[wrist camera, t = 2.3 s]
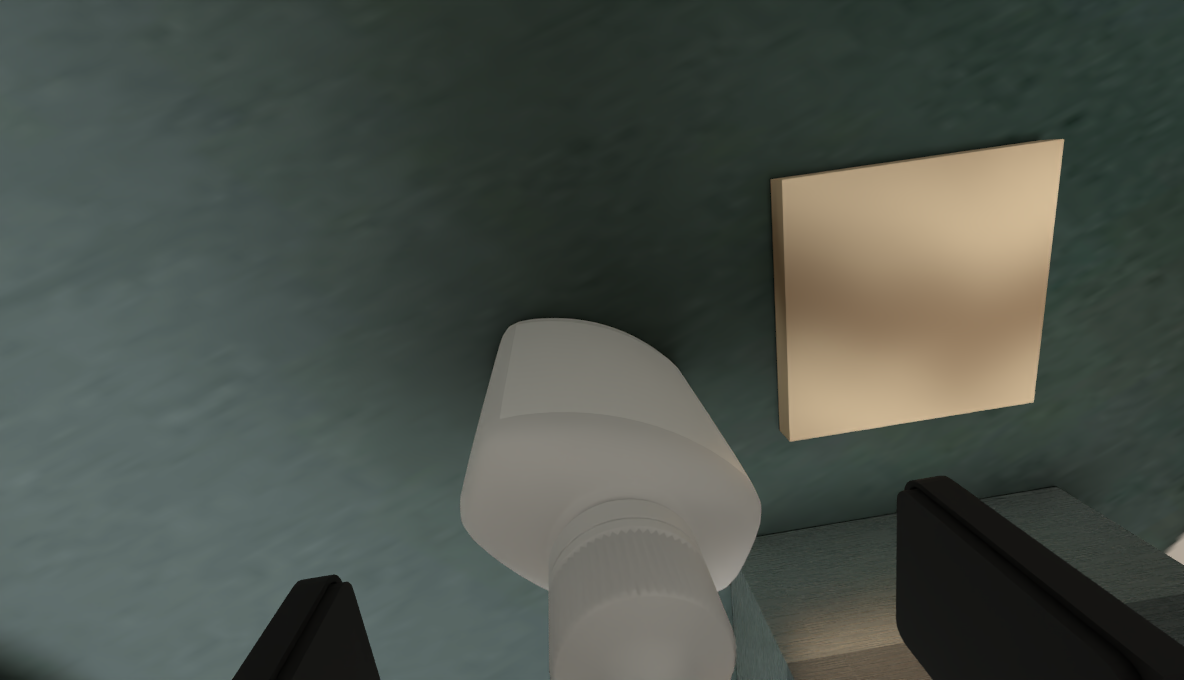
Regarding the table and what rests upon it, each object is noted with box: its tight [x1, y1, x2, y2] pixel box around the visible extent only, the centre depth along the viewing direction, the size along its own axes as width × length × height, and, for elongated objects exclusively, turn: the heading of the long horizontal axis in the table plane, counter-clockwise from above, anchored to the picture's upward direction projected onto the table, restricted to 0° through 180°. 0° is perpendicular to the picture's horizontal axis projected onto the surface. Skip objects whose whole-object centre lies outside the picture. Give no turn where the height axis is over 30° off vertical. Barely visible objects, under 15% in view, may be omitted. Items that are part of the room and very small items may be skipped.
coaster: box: [771, 139, 1064, 442], centre depth 17 cm, size 8×8×1 cm
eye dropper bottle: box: [460, 318, 761, 680], centre depth 11 cm, size 4×6×12 cm
